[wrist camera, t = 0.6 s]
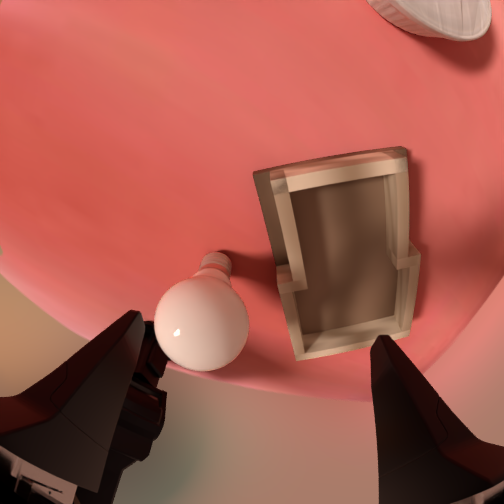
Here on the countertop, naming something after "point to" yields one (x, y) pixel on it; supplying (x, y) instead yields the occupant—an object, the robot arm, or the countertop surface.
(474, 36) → the ramekin
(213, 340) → the lightbulb
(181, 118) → the countertop surface
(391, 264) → the wooden tray
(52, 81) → the countertop surface
